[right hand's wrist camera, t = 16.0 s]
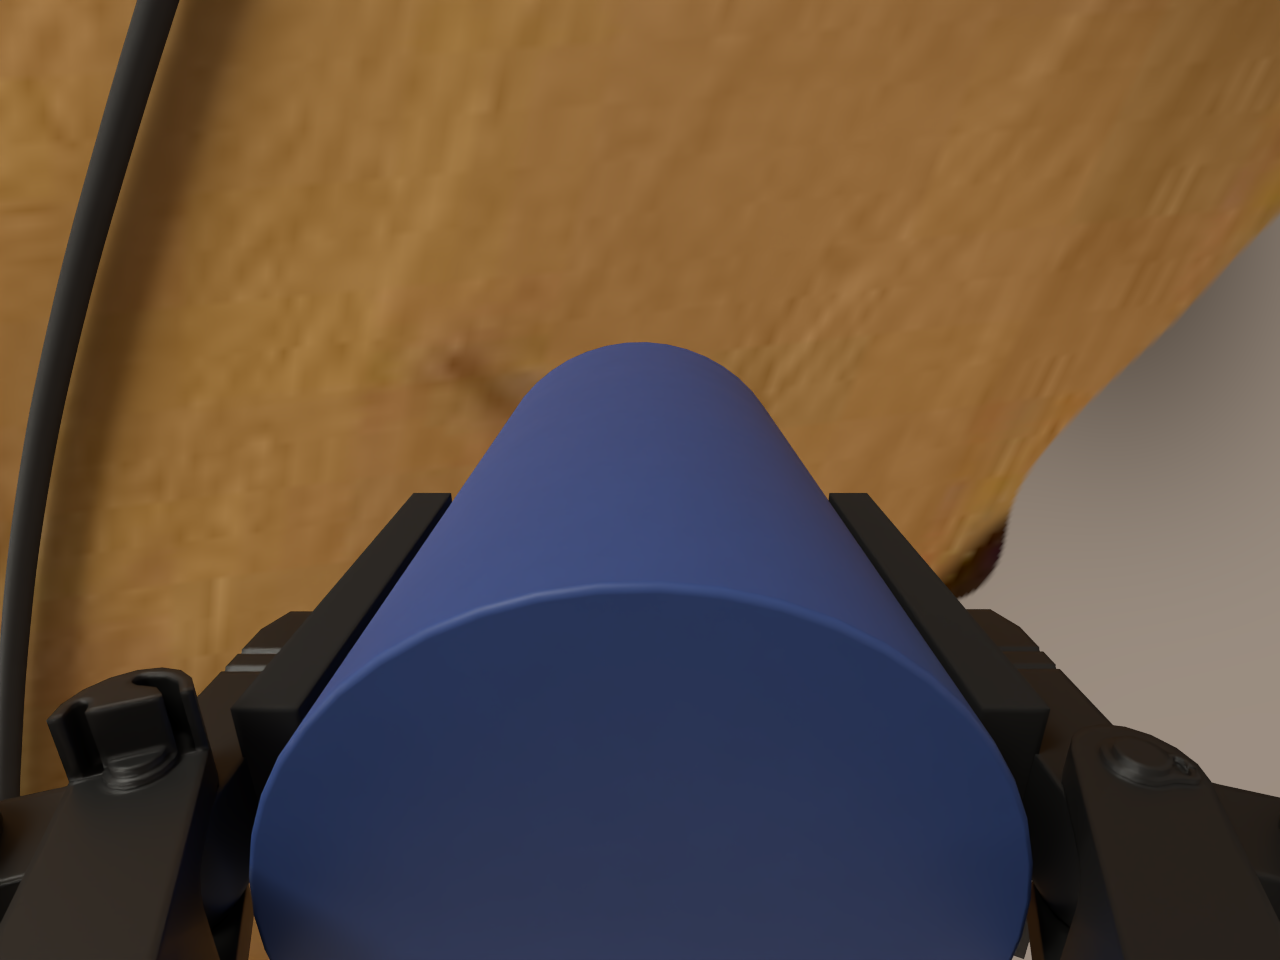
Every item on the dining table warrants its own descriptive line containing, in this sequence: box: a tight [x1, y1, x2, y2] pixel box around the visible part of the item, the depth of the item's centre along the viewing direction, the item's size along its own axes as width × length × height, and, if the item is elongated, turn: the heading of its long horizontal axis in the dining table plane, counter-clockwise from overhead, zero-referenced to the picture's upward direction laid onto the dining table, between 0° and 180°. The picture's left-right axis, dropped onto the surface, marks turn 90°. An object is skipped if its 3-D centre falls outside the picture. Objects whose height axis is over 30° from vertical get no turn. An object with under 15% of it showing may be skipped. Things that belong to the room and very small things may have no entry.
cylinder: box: [249, 342, 1033, 960], centre depth 12 cm, size 8×8×12 cm
